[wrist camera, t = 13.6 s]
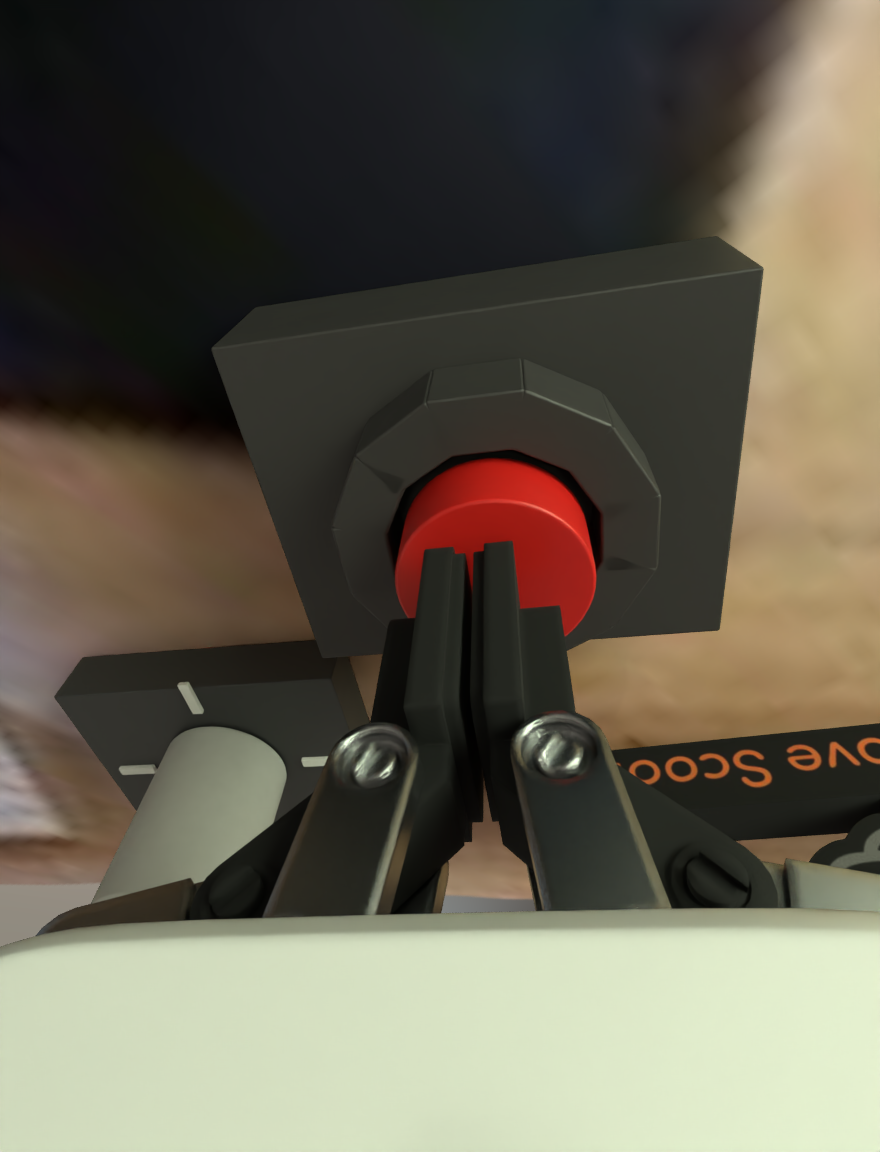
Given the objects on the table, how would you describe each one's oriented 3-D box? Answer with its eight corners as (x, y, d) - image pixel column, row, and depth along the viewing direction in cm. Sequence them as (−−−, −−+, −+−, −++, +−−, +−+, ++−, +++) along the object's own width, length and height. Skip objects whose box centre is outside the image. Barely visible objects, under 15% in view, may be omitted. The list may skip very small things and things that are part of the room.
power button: (421, 615, 16) (414, 666, 14) (387, 467, 14) (374, 511, 12) (589, 602, 15) (598, 653, 14) (584, 445, 13) (594, 488, 12)
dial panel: (170, 792, 29) (150, 837, 27) (78, 650, 24) (46, 694, 22) (390, 784, 28) (383, 830, 26) (340, 630, 23) (327, 675, 21)
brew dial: (187, 798, 26) (112, 972, 21) (151, 724, 23) (56, 902, 18) (297, 802, 25) (248, 979, 20) (273, 726, 23) (211, 908, 18)
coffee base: (342, 591, 22) (307, 706, 18) (254, 306, 16) (175, 378, 12) (691, 561, 20) (740, 680, 16) (718, 235, 15) (800, 290, 11)
